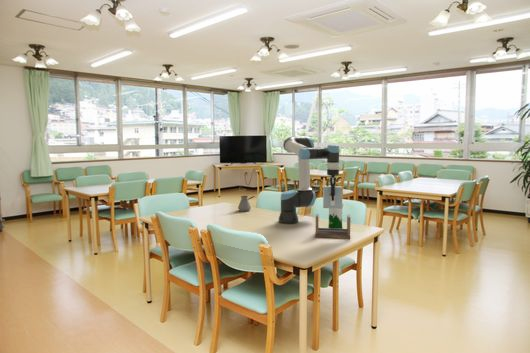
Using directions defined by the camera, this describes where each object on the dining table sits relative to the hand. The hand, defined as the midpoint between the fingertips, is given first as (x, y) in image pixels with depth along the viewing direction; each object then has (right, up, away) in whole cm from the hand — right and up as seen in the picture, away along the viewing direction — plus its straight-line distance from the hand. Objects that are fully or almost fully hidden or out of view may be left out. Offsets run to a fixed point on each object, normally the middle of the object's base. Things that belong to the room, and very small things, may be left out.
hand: (332, 204), depth 237 cm
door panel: (0, -2, 0) cm, 2 cm away
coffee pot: (-59, -12, +79) cm, 99 cm away
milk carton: (+6, -18, +22) cm, 29 cm away
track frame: (0, -20, +3) cm, 21 cm away
